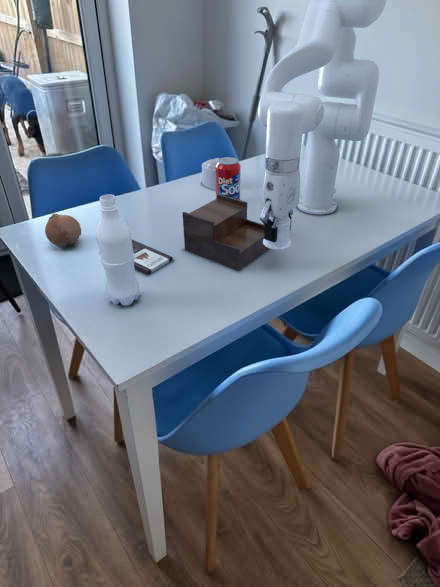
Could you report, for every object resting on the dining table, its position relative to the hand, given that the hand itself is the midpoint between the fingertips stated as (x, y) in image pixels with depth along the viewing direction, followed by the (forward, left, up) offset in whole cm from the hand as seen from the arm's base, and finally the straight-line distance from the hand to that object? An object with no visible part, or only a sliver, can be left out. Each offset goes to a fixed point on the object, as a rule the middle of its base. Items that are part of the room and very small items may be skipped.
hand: (277, 234), depth 104 cm
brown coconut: (+26, -53, -9) cm, 59 cm away
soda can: (-22, -32, -9) cm, 40 cm away
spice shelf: (+1, -15, -9) cm, 17 cm away
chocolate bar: (+19, -32, -9) cm, 38 cm away
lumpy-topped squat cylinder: (-35, -45, -9) cm, 58 cm away
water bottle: (+34, -20, -9) cm, 40 cm away
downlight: (0, 0, -3) cm, 3 cm away
